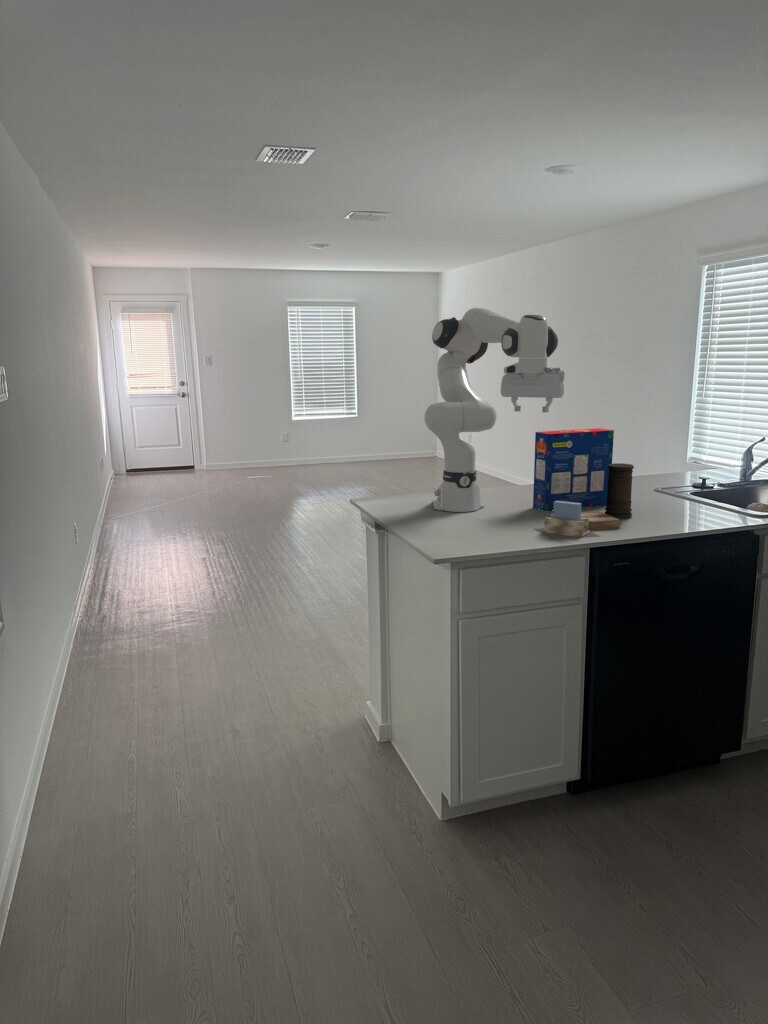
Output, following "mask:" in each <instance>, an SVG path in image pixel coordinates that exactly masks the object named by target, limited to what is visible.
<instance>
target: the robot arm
mask: <svg viewBox="0 0 768 1024" xmlns="http://www.w3.org/2000/svg"><path fill="white" fill-rule="evenodd" d="M431 335H432V336H431V337H432V342H433V344H434V345H435V346H436V347H438V348H439V349H443V350H445V351H446V352H445V353H443V354H442V355H441V356H440V357H439V358H438V362H437V370H436V371H437V378H438V379H437V380H438V386H439V392H440V395H441V398H442V399H443V400H444V401H441V402H440V401H439V402H435V403H432V404H430V405H429V406H428V407H427V408H426V410H425V411H424V412H425V413H424V423H425V425H426V427H427V428H428V430H429V431H431V433H433V434H434V435H435V436H436V437H437V438H438V440H439V441H440V443H441V445H442V448H443V455H444V470H443V472H442V482H441V483H440V484H439V486H438V488H437V489H434V496H435V497H437V498H435V499H432V500H431V504H432V503H433V504H432V506H434V507H433V509H434V510H435V509H437V510H436V511H444V510H445V511H444V512H452V513H468V512H474V511H478V510H480V509H483V508H485V504H484V503H481V487H480V485H479V483H477V470H476V449H475V447H474V446H472V444H469V443H468V442H466V441H464V440H462V439H461V438H460V433H479V432H483V431H484V432H485V431H488V430H491V429H492V428H493V427H494V425H495V424H496V421H497V410H496V408H495V407H494V406H493V404H492V403H490V402H488V401H486V400H484V399H482V398H481V397H480V396H479V395H477V394H476V392H475V391H474V390H473V389H472V386H471V383H470V381H469V376H468V371H467V368H466V367H467V366H466V365H467V364H473V363H474V362H475V361H478V360H479V359H481V358H482V357H483V356H484V355H485V353H486V352H487V351H488V347H489V344H498V343H499V344H501V345H500V346H501V349H502V351H503V353H504V354H505V355H506V356H507V357H511V358H518V362H516V363H513V364H509V365H507V366H504V367H503V373H504V375H502V378H501V383H500V395H501V397H502V398H503V397H504V398H510V400H511V401H510V402H511V403H512V405H513V406H514V408H513V410H514V412H516V413H517V412H521V408H522V406H521V405H519V404H518V400H519V399H518V398H536V399H537V398H538V399H539V398H544V399H545V402H546V404H545V406H542V410H541V412H542V413H549V411H550V406H551V404H552V402H553V399H559V398H560V399H561V398H562V397H563V396H564V394H565V387H564V386H565V383H564V380H565V372H564V370H563V369H561V368H560V367H548V358H549V357H550V356H552V355H553V354H554V353H555V351H556V349H557V348H558V345H559V338H558V334H557V333H556V331H555V330H554V329H553V327H551V326H550V325H548V321H547V318H546V317H545V316H543V315H539V314H526V315H525V314H524V315H523V316H522V317H521V318H520V321H519V322H518V321H516V320H513V319H512V318H508V317H506V316H503V315H502V314H499V313H497V312H494V311H492V310H490V309H487V308H482V307H472V308H470V309H468V310H466V312H465V313H464V314H463V316H462V318H461V319H459V320H458V319H457V318H456V317H455V316H454V317H451V318H446V319H445V318H444V319H441V320H440V321H438V322H437V323H436V325H435V326H434V329H433V331H432V334H431Z"/></svg>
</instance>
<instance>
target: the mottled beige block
mask: <svg viewBox="0 0 768 1024" xmlns="http://www.w3.org/2000/svg"><path fill="white" fill-rule="evenodd" d="M588 524H589V518H581V521H574V520H565V519H557V518H553V513H552V514H550V516H549V517H548V516H547V517H546V516H545V517H544V527H543V528H544V530H542V532H544V533H552V534H560V535H567V536H575V537H584V536H586V535H587V534H589V533H590V531H591V530H589V529H588ZM588 530H589V531H588ZM584 538H585V537H584Z"/></svg>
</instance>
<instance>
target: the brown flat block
mask: <svg viewBox="0 0 768 1024" xmlns="http://www.w3.org/2000/svg"><path fill="white" fill-rule="evenodd" d="M581 518H589V524H588V530H589V531H598V530H599V531H600V530H615V529H620V528H621V519H617V518H614V517H612V516H610V515H607V514H605V512H602V511H601V510H593V511H592V510H591V511H581Z"/></svg>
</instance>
